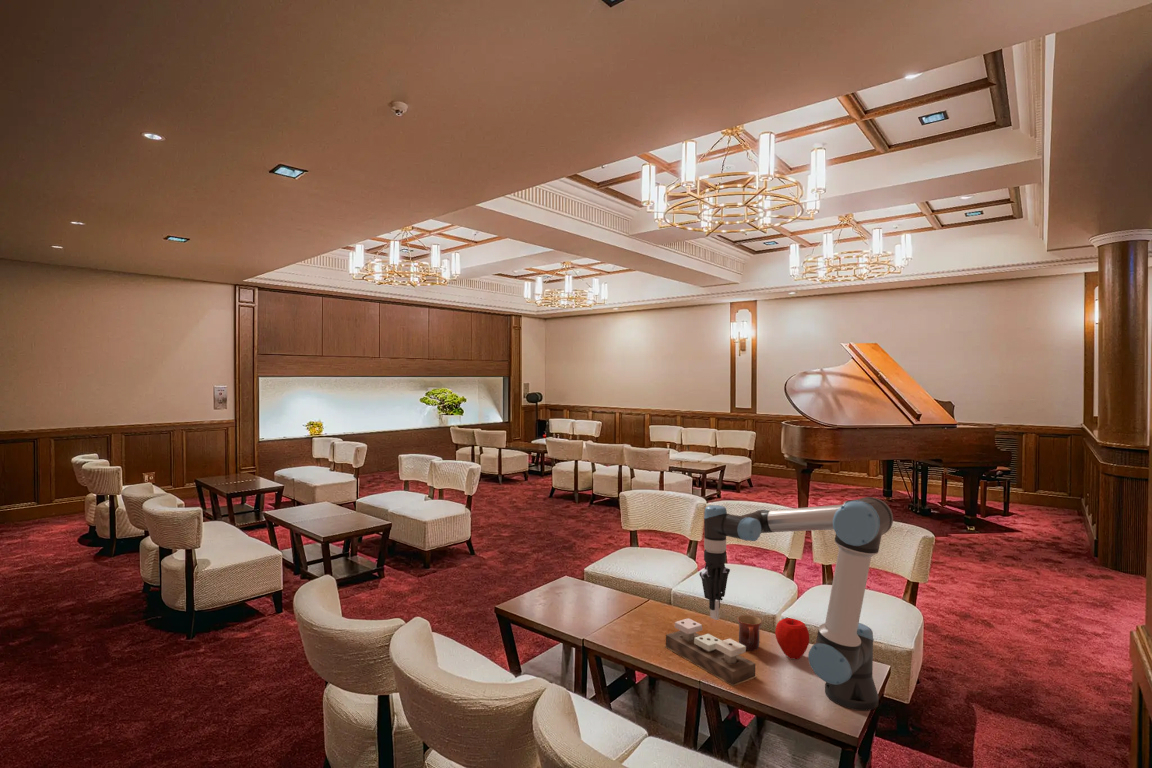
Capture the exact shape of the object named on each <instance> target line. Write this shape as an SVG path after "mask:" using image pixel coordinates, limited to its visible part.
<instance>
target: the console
mask: <svg viewBox="0 0 1152 768" xmlns="http://www.w3.org/2000/svg"><path fill="white" fill-rule="evenodd" d="M699 636H702V634H699V633H698V632H695V633H694V638H695V637H699ZM664 648H666V649H668V650H669V651H671V652H673V653H674V654H676V655H678V656H680V657H682V658H683V659H685V660H686V661H689V662H690V663H691V664H693V665H695V666H697V667H699V668H700V669H702V670H704V671H706V672H707V673H709V674H711V675H712V676H714V677H715V678H717V679H719V680H721V681H722V682H724V683H725V684H728V685H730V686H731V687H735V686H737V685H740V684H743V683H745V682H748V681H751V680H754V679H755V678H757V675H756V667H757V666H756V663H755V662H754V661H752V660H749V659H748V658H746V657H744V656H742V655H741V654H739V655H736V663H734V664H729V663H727V662H725V661H724V653H722V652H721V651H719V650H717V649H714V651H712V652H707V651H705V650H703V648H702V647H700V646H698V645H696V644H694V640H691V641H686V640H685V639H683V631H681V630H678V631H675V632H670V633H667V634H665V645H664Z"/></svg>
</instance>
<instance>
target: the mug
mask: <svg viewBox="0 0 1152 768" xmlns="http://www.w3.org/2000/svg"><path fill="white" fill-rule="evenodd" d="M737 622H738V643H740V644H742V645H744V646H746V651H750V652H751V651H757V650H758V649H759V647H760V643H761V642H760V629H761V626H762V623H763V622H762V619H761V618H759V617H756V616H754V615H750V614H749V615H747V614H743V615H739V616H737Z"/></svg>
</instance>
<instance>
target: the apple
mask: <svg viewBox="0 0 1152 768" xmlns="http://www.w3.org/2000/svg"><path fill="white" fill-rule="evenodd" d="M774 636H775V639H776V641H777V643H778V645H779V647H780V649H781V651H782V652H783V654H784V655H785V656H786V657H787V658H789V659H791V660H798V659H799V660H800V658H802V657H803V656H804V654H805V653H806V651H807V649H808V647H809V646H810V645H809V644H810V633H809V629H808V627H807V625H806V624H805V623H804V622H803V621H801V620H800V619H799V620H798V619H795V618H792V617H785V618H782V619H781V620H779V621H778V622H777V623H776V627H775V631H774Z"/></svg>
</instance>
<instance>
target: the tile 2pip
mask: <svg viewBox="0 0 1152 768" xmlns="http://www.w3.org/2000/svg"><path fill="white" fill-rule="evenodd" d="M674 628H675V629H677V630H678V631H683V639H685V640H686V641H691V640H694V633H698V632H701V631H703V624H701V623H699V622H697V621H695V620H693V619H692V618H689V617H688V618H684V619H680V620H677V621H674Z"/></svg>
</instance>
